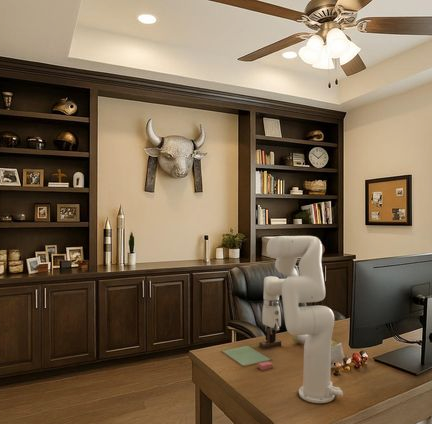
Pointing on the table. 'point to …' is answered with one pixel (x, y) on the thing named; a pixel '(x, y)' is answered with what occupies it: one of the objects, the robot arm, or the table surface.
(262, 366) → the eraser
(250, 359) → the desk pad
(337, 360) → the arrowhead
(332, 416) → the table surface
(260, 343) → the brown t-shaped block
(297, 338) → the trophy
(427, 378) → the table surface
